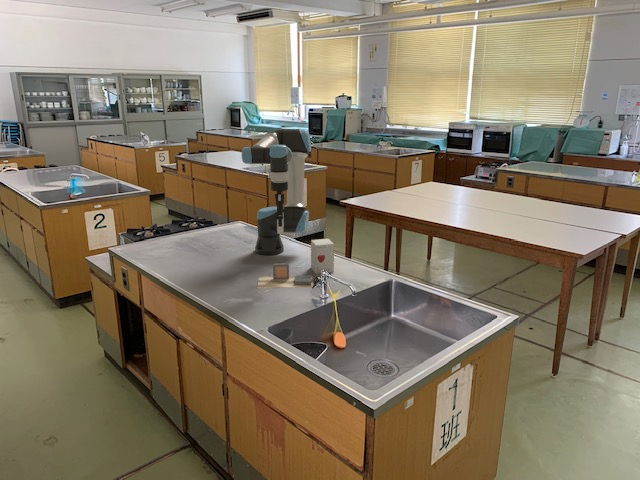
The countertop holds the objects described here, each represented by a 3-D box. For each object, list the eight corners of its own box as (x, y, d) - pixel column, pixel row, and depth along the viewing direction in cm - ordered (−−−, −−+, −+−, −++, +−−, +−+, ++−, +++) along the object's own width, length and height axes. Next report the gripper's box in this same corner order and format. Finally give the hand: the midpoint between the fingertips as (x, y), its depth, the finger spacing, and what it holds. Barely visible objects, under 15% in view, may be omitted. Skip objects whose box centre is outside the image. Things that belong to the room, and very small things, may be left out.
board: (259, 279, 221) (259, 276, 221) (312, 277, 223) (312, 275, 222) (257, 291, 208) (257, 288, 208) (313, 289, 209) (313, 286, 209)
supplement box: (315, 276, 225) (315, 245, 220) (310, 269, 233) (310, 239, 228) (334, 274, 227) (334, 243, 222) (328, 268, 235) (328, 238, 231)
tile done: (294, 279, 218) (294, 275, 217) (310, 278, 218) (310, 275, 218) (294, 285, 211) (294, 281, 211) (311, 284, 211) (311, 281, 211)
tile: (273, 278, 219) (273, 263, 217) (289, 278, 219) (288, 263, 217) (273, 279, 217) (272, 264, 215) (289, 279, 218) (288, 264, 216)
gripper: (271, 176, 224) (272, 222, 230) (269, 186, 202) (271, 237, 208) (287, 176, 224) (288, 222, 231) (287, 186, 202) (289, 236, 209)
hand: (280, 229), depth 219 cm, fingers open, 11 cm apart
